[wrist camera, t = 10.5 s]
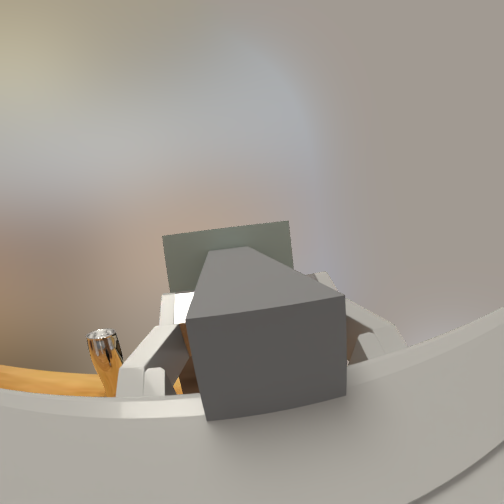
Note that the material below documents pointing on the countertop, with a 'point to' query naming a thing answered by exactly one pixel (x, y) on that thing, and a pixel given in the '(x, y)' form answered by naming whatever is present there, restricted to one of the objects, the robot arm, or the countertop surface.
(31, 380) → the countertop surface
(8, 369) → the countertop surface
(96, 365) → the beer glass
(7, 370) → the countertop surface
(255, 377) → the grey mallet
